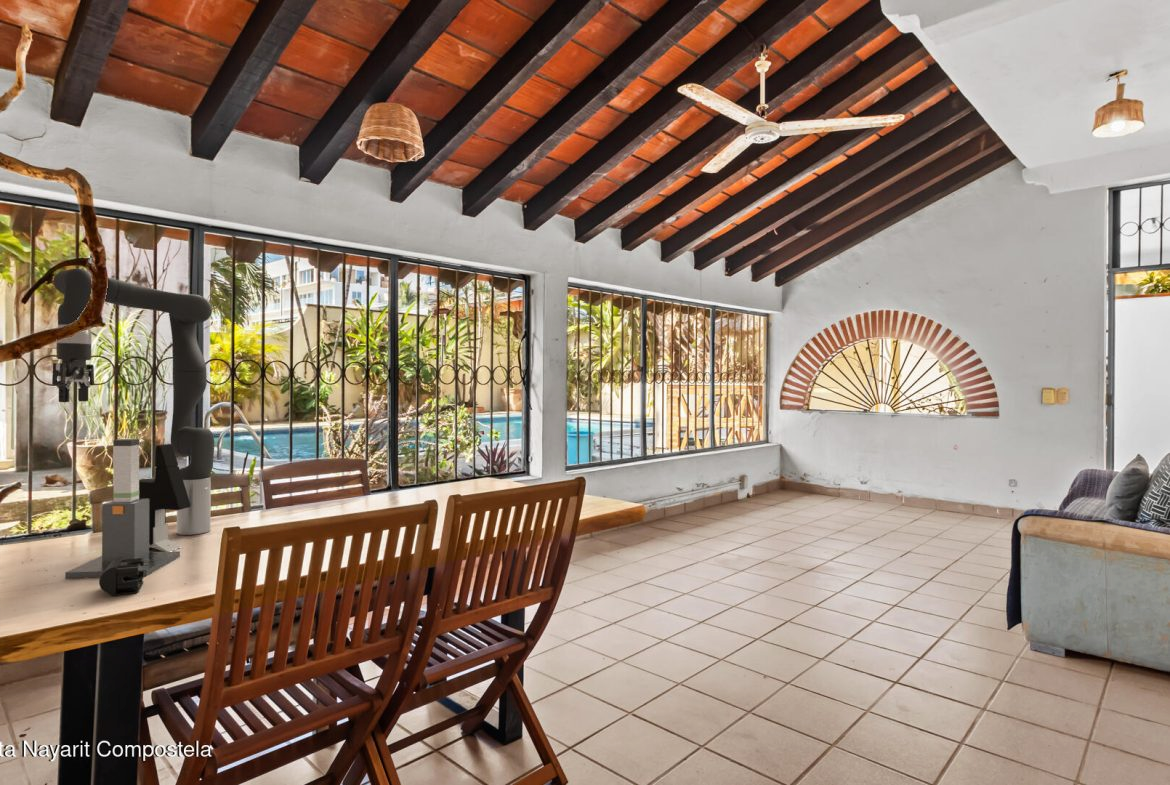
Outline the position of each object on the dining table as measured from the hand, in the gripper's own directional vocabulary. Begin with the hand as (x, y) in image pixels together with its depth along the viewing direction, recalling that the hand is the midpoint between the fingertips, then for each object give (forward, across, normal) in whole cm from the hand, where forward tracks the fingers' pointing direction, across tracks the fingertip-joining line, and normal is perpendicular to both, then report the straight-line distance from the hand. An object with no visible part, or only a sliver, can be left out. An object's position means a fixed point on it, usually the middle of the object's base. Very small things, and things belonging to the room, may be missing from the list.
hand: (74, 401), depth 178 cm
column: (+34, -14, -20) cm, 42 cm away
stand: (+42, -14, -20) cm, 49 cm away
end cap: (+42, -34, -29) cm, 62 cm away
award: (+42, +4, -20) cm, 47 cm away
